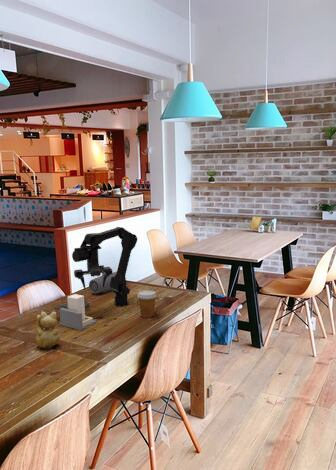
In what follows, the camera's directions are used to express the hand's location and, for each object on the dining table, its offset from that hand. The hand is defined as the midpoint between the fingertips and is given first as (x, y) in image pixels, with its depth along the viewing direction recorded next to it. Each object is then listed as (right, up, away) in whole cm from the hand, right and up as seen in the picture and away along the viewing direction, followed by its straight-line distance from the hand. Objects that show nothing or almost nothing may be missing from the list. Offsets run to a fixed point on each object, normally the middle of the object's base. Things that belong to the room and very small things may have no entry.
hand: (93, 288), depth 217 cm
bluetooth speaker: (+1, -7, +40) cm, 41 cm away
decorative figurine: (-13, -20, -38) cm, 45 cm away
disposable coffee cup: (+27, -14, -3) cm, 31 cm away
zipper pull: (-11, -13, +3) cm, 18 cm away
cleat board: (-5, -15, -13) cm, 21 cm away
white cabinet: (-6, -15, -14) cm, 21 cm away
